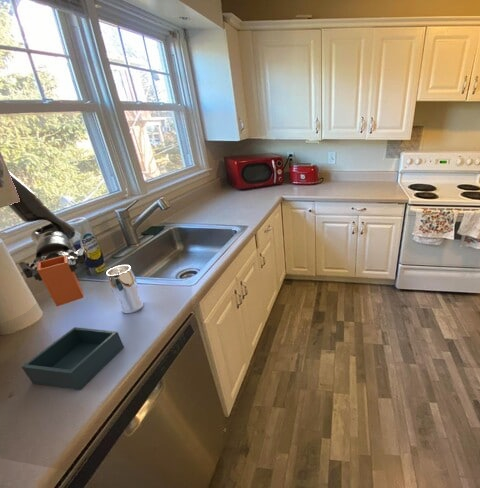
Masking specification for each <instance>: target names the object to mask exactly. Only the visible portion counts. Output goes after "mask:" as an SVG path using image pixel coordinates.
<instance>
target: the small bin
mask: <svg viewBox="0 0 480 488" xmlns="http://www.w3.org/2000/svg"><path fill="white" fill-rule="evenodd" d="M37 271H38V273H39V274H40V276H41V278H42V282H43V284H44V286H45V288H46V289H47V292H48V293H49V295H50V297H51V299H52V301H53V302H54V304H55V306H56V307H59V306H63V305H66V304H69V303H72V302H76V301H78V300H81V299H84V292H83V288H82V286H81V284H80V281H79V279H78V278H77V276H76V273H75V271H74V272H71V269H70V267H69V265H68V259H67V256H66V255H64V256H60V257H56V258H52V259H48V260H44V261H41V262H38V268H37Z"/></svg>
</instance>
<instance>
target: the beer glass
mask: <svg viewBox="0 0 480 488" xmlns="http://www.w3.org/2000/svg"><path fill="white" fill-rule="evenodd" d="M105 275H106V277H107V281H108V284H109V286H110V289H111V290H112V292H113V293H114V295H115V296H116V298H117V300H118V301H119V302H120V305H121V311H122V313H123V314H133V313H136V312H138V311H140V310H141V309H142V308H143V307H144V303H143V301H142V299H141V298H140V296H139V289H138V288H139V287H138V283H137V278H136V275H135V273H134V271H133V269H132V267H131V266H130V265H129V264H121V265H116V266H114V267H111V268H109V269H108V270H107V271H106V272H105Z"/></svg>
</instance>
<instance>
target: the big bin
mask: <svg viewBox="0 0 480 488" xmlns="http://www.w3.org/2000/svg"><path fill="white" fill-rule="evenodd" d="M124 348H125V345H124V344H123V341H122V339H121V336H120V335H119V332H118V331H115V330H105V329H95V328H86V327H79V326H78V327H77V326H74V327H73V328H71V329H70V330H69V331H67V332H66V333H65V334H63V335H62V336H61V337H59V338H58V339H56V340H55V341H54V342H52V343H51V344H50V345H49V346H47V347H46V348H44V349H43V350H42V351H40V352H39V353H37V354H36V355H35V356H34V357H32V358H31V359H29V360H28V361H27V362H25V363H24V364H23V365H21V369H22V370H23V372H24V373H25V375H26V376H27V378H28V379H29V380H30V382H31V383H32V384H36V385H43V386H49V387H56V388H57V387H58V388H64V389H69V390H78V391H81V390H82V389H83V388H84V387H85V386H86V385H87V384H88V383H89V382H90V381H92V379H93V378H94V377H96V375H97V374H99V373H100V371H101V370H103V369H104V367H106V365H108V364H109V363H110V362H111V361H112V360H113V358H115V357H116V356H117V355H118V354H119V353H120V352H121V351H122V350H123V349H124Z"/></svg>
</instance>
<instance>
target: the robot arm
mask: <svg viewBox="0 0 480 488" xmlns="http://www.w3.org/2000/svg"><path fill="white" fill-rule="evenodd" d="M9 173H10V176H11V178H12V181H13V183H14V185H15V187H16V190H17V193H18V195H19V198H20V202H18V203H14V204H12V205H9V206H8V207H9V208H10V209H11V210H12V211H13V212H14V213H15V215H16V216H18V218H19V219H21V220H22V221H23V222H24V223H34V222H38V221H47V222H49V223H47V224H44V225H42V226H40V227H37V228H36V229H33V230H32V231H31V232H30V238H31V240H32V242H33V243H34V244H35V245H36V247H35V248H36V249H35V258H34V259H33V261H32V262H26V261H21V262H19V263H18V265H19V267H20V270H22V272H23V274H24V276H25V277H26V279H31V278H33V279H34V280H35V281H38V282H41V281H42V282H43V280H42V278H41V276H40V274H39V273H38V271H37V268H38V262H41V261H44V260H48V259H52V258H56V257H60V256H64V255H66V256H67V259H68V265H69V267H70V269H71V272H74V273H75V272H76V270H78V265H79V264H81V265H83V264H85V263H87V259H88V256H89V254H88V253H87V250H86V248H85V247H80V248H79V249H78V250H76V251H74V250H73V247H72V245H71V242H70V240H71V239H73V238H74V237H75V236H76V231H75V228H74V227H73V226H72V225H71V224H70V223H69V222H67V221H66V220H64V219H63V218H61V217H60V216H59V215H57V214H55V213H54V212H53V211H52V210H51V209H50V208H48V207H47V206H46V205H45V203H44V202H43V201H42V200H41V199H40V198H39V196H37V194H36V193H35V192H34V191H32V189H31V188H29V186H27V184H25V183H24V182H23V181H21V180H20V179H19V178H17V176H15V175H14V174H13V173H11V172H10V171H9Z"/></svg>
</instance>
